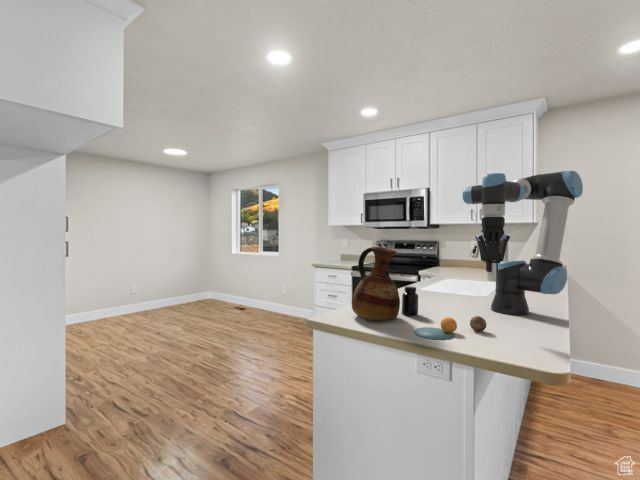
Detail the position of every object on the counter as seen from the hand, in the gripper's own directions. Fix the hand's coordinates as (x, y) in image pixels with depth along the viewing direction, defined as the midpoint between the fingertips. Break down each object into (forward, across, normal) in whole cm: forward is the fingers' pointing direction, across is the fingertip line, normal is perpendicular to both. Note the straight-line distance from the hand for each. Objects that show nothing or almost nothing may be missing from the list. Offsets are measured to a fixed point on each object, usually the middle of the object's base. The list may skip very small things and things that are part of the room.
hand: (491, 280), depth 124 cm
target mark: (+18, -23, 0) cm, 29 cm away
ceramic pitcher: (+19, -36, +24) cm, 47 cm away
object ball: (+16, -17, 0) cm, 23 cm away
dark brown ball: (+16, -6, 0) cm, 17 cm away
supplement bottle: (+19, -19, +27) cm, 38 cm away
